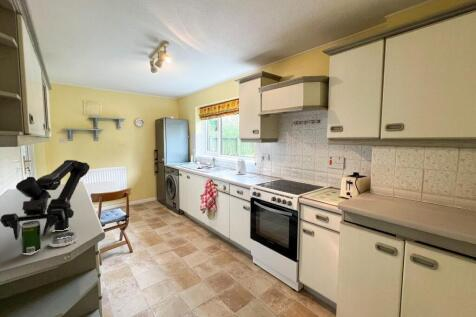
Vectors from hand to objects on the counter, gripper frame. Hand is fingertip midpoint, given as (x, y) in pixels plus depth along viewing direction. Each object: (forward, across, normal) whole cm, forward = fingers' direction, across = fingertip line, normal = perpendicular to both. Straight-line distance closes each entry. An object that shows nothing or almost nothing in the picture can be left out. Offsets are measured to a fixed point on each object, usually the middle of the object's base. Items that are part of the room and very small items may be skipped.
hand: (30, 237), depth 84 cm
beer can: (+4, 0, +6) cm, 7 cm away
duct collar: (-1, +9, +10) cm, 13 cm away
